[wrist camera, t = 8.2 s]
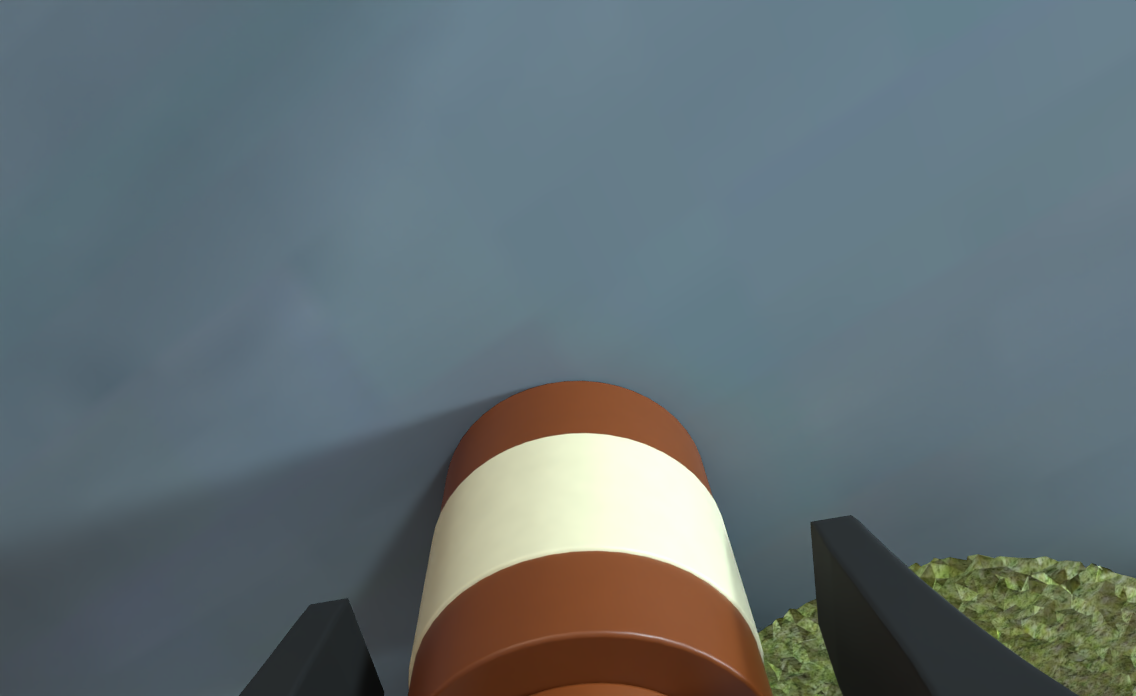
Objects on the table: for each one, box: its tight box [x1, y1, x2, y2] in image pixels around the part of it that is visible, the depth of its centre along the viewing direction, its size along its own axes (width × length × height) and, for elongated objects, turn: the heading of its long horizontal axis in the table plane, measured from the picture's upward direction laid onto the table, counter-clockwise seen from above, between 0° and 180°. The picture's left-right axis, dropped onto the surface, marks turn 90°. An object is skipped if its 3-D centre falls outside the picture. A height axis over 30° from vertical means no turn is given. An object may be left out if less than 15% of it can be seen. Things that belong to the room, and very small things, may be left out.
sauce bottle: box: [408, 381, 773, 696], centre depth 12 cm, size 5×5×9 cm
